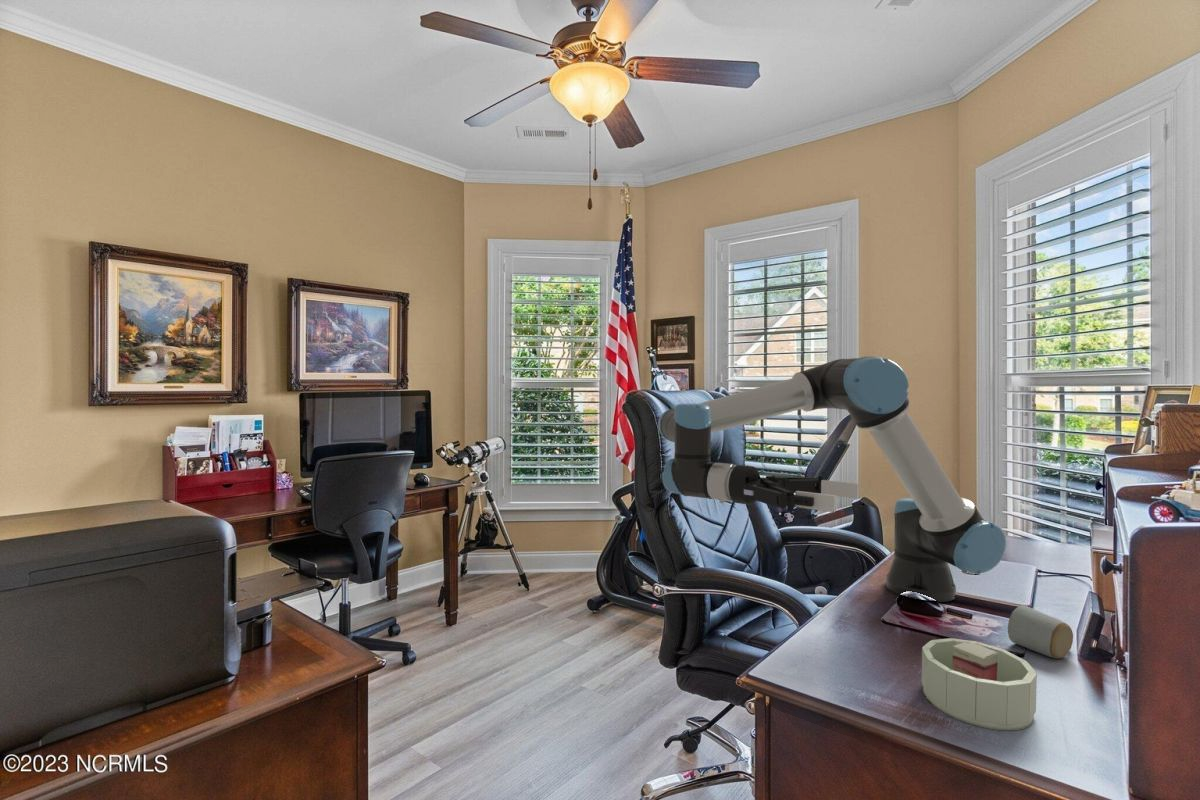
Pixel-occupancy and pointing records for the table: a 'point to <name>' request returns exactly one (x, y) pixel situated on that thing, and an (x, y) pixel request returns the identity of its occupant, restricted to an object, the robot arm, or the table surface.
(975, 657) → the small box
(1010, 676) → the sage bowl
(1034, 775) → the table surface
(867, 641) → the table surface
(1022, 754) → the table surface
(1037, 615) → the ceramic mug
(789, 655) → the table surface
